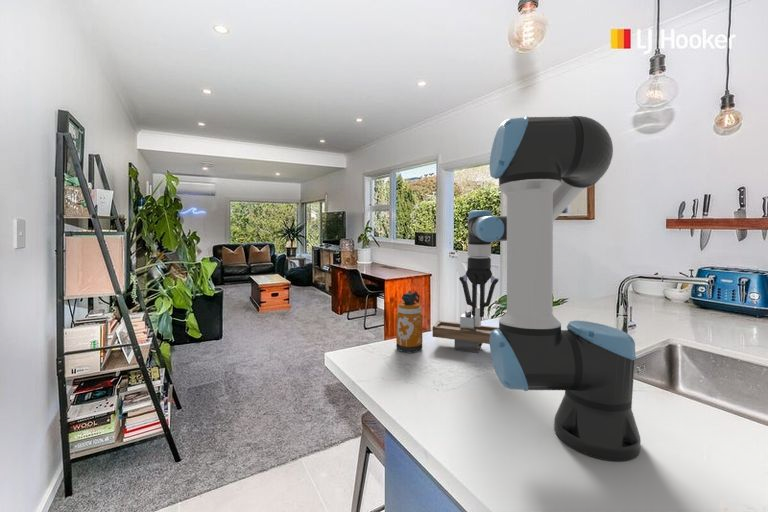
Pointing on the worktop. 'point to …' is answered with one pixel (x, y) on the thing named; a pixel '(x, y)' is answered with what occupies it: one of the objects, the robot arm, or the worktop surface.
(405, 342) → the canister
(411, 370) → the worktop surface
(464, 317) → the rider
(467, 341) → the beam
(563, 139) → the robot arm
